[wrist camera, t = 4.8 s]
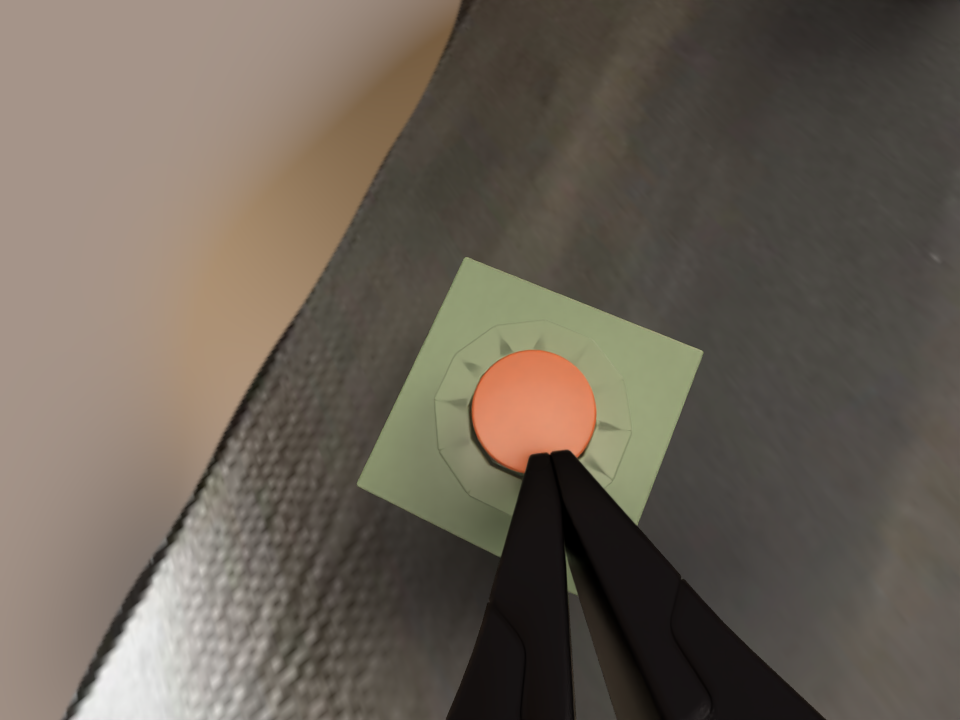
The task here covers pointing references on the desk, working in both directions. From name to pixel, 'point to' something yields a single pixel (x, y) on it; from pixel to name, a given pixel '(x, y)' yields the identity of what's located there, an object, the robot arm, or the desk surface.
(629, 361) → the green push button box
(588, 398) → the orange cylinder cap
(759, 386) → the desk surface
